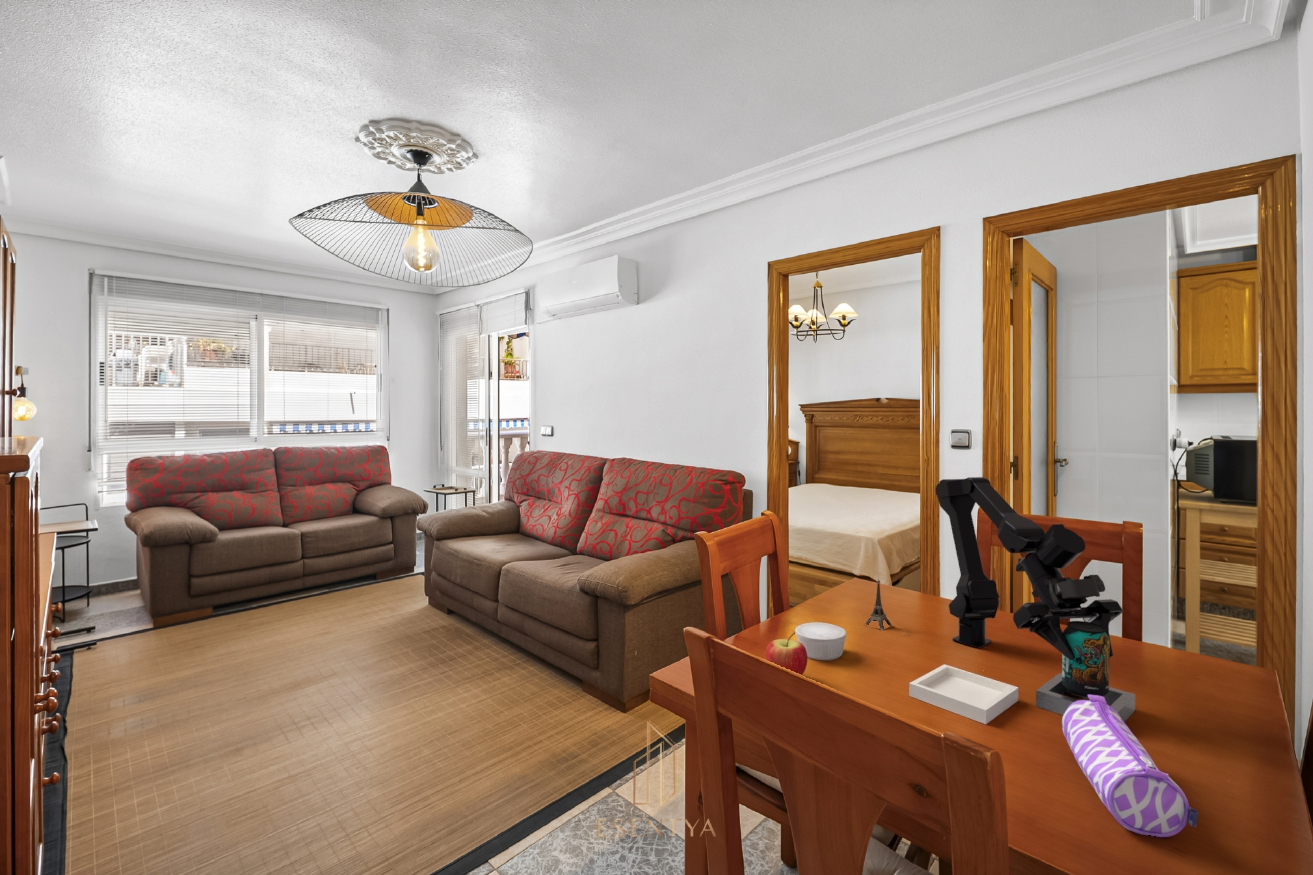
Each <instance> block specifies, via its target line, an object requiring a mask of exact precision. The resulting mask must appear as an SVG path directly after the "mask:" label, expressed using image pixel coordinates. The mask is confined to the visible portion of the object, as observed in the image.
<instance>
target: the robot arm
mask: <svg viewBox="0 0 1313 875" xmlns="http://www.w3.org/2000/svg"><path fill="white" fill-rule="evenodd" d="M934 490H935V494H936V497H937V500H938V504H939V506H940V508H941V509H942V510H943V511H944V512H945V513H946V514H947V516H948V517H949V522H950V527H951V531H952V532H951V533H952V537H953V542H954V546H955V547H954V548H955V554H956V558H957V562H958V563H957V564H958V568H959V573H960V577H959V580H958V581H957V583H956V586H955V588H956V589H955V590H956V592H955V593H956V595H955V597H954V598H953V599H952V600H951V601H950V603H949V604H948V610H949V613H950V615H951V616H953V617H955V618H958V635H956V636H954V637H952V641H953V642H956V643H960V644H963V645H967V646H970V647H974V648H978V649H981V648H984V647H985V646H988V645H989V644H991V643H992V642H993V640H992V639H990V638H987V637H986V633H987V632H986V631H987V630H986V626H987V620H986V619H995V618H996V615H997V612H998V609H999V606H1000V598H1001V597H1000V595H999V593H998V589H997V588H998V587H997V582H996V581H995V580H994V579H989V577H988V576H987V575H986V574H985V572H984V569H983V563H982V557H981V554H980V548H979V544H978V543H979V542H978V539H977V535H976V530H975V526H974V520H973V515H972V514H973V513H972V512H973V509H974V507H975V505H976V504H977V505H978V507H979V508H980V509H981V510H982V511H983V512H984V514H985V515H986V516H987V517H988V518H989V519H990V521H991V522H992V523H993V524H994V525H995V527H996V528H997V538H998V540H999V541H1000V543H1001V545H1002V546H1003V548H1004V549H1005V551H1007V552H1008V553H1010V554H1026V555H1025V556H1024V557H1020V558H1019V557H1018V559H1017V564H1016V566H1015V571H1016V573H1017V572H1018V573H1020V572H1025V574H1026V576H1027V578H1028V581H1029V582H1030V584H1031V585H1032V587H1033V589H1034V590H1033V591H1031V595H1032V596H1033V598H1039V600H1040V601H1039V602H1038V601H1037V602H1025V603H1023V604H1022V605H1021V606H1020V607H1019V608H1018V609H1017V610H1016V611H1015V612H1014V613H1013V615H1012V620H1013V622H1014V624H1015V626H1016V629H1019V630H1026V629H1028V631H1029V632H1030V633H1034V634H1036V635H1038V637H1040V638H1042V639H1043V640H1044V641H1045V642H1047V643H1048V644H1050V646H1053V647H1054V648H1055V649H1056V650H1057V651H1058V652H1060V653H1061V654H1064V655H1065V656H1066V657H1067V658H1068V659H1070V660H1073V659H1074V658H1075V656H1074V653H1073V651H1072V648H1071V647H1070V645H1069V643H1068V641H1067V639H1066V637H1065V635H1064V633H1063V630H1062V628H1061V620H1065V619H1068V620H1070V619H1082V620H1083V621H1084V622H1090V623H1094V624H1098V625H1100V626H1102V627H1104V628H1105V629H1106V632H1105V633H1106V634H1107V636H1108V637H1109V639H1110V659H1111V658H1113V656H1114V654H1113V647H1112V642H1111V636H1110V627H1109V625H1110V623H1111V622H1112V621H1113V620H1114V619H1116V618H1118V617H1119V616H1120V615H1121V614H1123V613H1124V612H1125V611H1124V609H1123V608H1122V606H1121V605H1120V603H1119V602H1118V600H1114V599H1111V598H1110V599H1095V600H1094V601H1092V602H1091V603H1090V604H1088V605H1087V606H1083V607H1082V606H1081V605H1083V604H1086V603H1087V602H1088V599H1087V598H1092V597H1096V598H1098V597H1101V594H1100V593H1104V592H1106V585H1105V583H1104V581H1103V579H1101V577H1100V576H1099V574H1088V575H1084V576H1083V578H1080V579H1079V578H1076V579H1072V578H1071V577H1065V576H1064V574H1063V573H1062V571H1061V570H1060V569H1065V568H1066V567H1068V566H1069V565H1070V564H1071V563H1072V562H1073V561H1074V560H1075V559H1076V558H1078V557H1079V556H1080V555H1081V554H1082V553H1083V552H1084V551H1085V550H1086V542H1085V540H1084V539H1083V538H1082V536H1079V535H1078V534H1077V533H1076V532H1075V531H1073V530H1071V529H1068V528H1066V527H1065V526H1064V524H1063V523H1052V525H1050V526H1049V529H1048V530H1047V531H1045V530H1044V529H1043V528H1042V527H1041V526H1040V525H1038V524H1037V523H1036V522H1034V521H1033V520H1032V519H1030V518H1027V517H1025V516H1023V515H1020V514H1019V513H1017V512H1016V510H1015V509H1014V508H1013V507H1012V506H1011V505H1010V504H1009V503H1008V502H1007V501H1006V500H1005V499H1004V498H1003V497H1002V495H1001V494H999V492H998V491H997V490H996V489H995V488H994V487H993V485H992V484H991V481H990V480H989V478H986V477H982V476H979V477H978V476H976V477H975V476H974V477H966V478H954V479H953V478H950V479H949V478H948V479H946V478H945V479H941V480H939V482H938V484H936V486H935V489H934Z"/></svg>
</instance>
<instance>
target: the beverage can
mask: <svg viewBox="0 0 1313 875" xmlns="http://www.w3.org/2000/svg"><path fill="white" fill-rule="evenodd" d="M1066 623H1067V626H1066V627H1065V628H1064V629H1063V630H1062V632H1063V633H1064V635H1065V637H1066V639H1067V641H1068V643H1069V645H1070V647H1071V648H1072V651H1073V653H1074V656H1075V658H1074V659H1073V660H1070V659H1068V658H1067V657H1066V656H1065V655H1064V654H1062V653H1061V654H1062V656H1061V657H1062V658H1061V659H1062V660H1061V671H1062V672H1061V673H1062V683H1063V685H1064V686H1065V687H1066V688H1067V689H1068V690H1069V691H1071V692H1072V693H1075V694H1077V695H1080V696H1084V697H1088V695H1097V696H1103V697H1104V696H1105V695H1106V694H1108V692H1109V687H1110V659H1111V658H1110V641H1111V638H1110V639H1109V637H1108V636H1107V634H1106V633H1105V632H1106V629H1105V628H1104V627H1102V626H1100V625H1098V624H1094V623H1090V622H1084V620H1083V621H1082V620H1071V621H1068V622H1066Z"/></svg>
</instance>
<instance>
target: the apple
mask: <svg viewBox="0 0 1313 875" xmlns="http://www.w3.org/2000/svg"><path fill="white" fill-rule="evenodd" d="M794 635H796V633H795V631H793V633H792V634H791V635H790V636H789V637H788V639H787V638H779V639H775V640H772V641H770V642H769V643H768V645H767V647H766V652H765V657H766V658H765V660H766V661H767V660H768V661H770V662H774V663H775V664H777V665H780V666H781V667H785V668H786V669H790V670H791V671H794V672H796V673H799V674H801V675H802V676H803V674H804V673H805V671H806V669H807V666H808V657H807V651H806V648H805V646H804V645H803V644H802V643H800V642H798V640H794V639H791V638H792V637H793V636H794Z"/></svg>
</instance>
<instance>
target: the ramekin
mask: <svg viewBox="0 0 1313 875" xmlns="http://www.w3.org/2000/svg"><path fill="white" fill-rule="evenodd" d="M794 632H795V636H796V641H798V642H800V643H802V644H803V645H804V646H805V648H806V651H807V658H808V659H813V660H816V661H833V660H837V659H839V658H840V657H841V656H842V655H843V653H844V648H845V641H846V639H847V631H846V630H845V629H844V628H843V627H840V626H838V625H835V624H831V623H828V622H827V623H826V622H816V621H815V622H805V623H802V624H799V625H798V626H796V627H795V631H794Z"/></svg>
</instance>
